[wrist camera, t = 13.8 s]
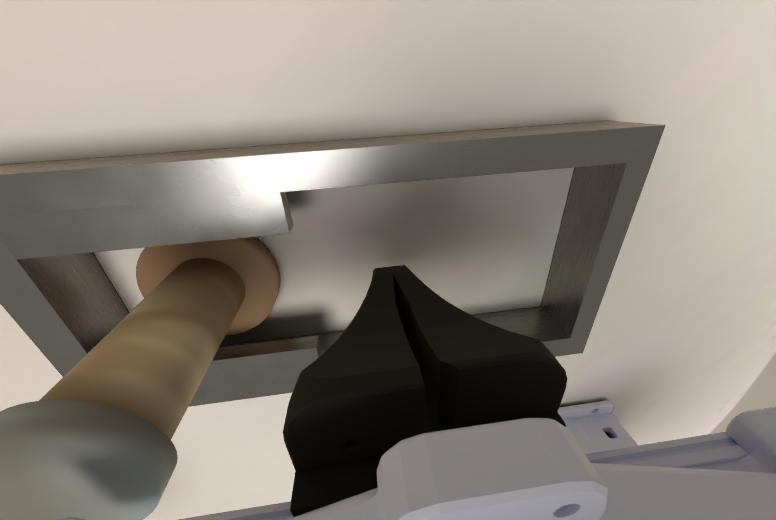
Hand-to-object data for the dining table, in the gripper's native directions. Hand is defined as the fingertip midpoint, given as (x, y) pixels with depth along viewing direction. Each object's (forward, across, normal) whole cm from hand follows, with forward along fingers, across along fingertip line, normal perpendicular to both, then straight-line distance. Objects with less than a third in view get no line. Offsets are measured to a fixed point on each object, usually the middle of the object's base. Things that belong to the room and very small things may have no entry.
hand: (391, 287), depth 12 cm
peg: (+2, +8, 0) cm, 8 cm away
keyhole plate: (+2, +2, 0) cm, 3 cm away
